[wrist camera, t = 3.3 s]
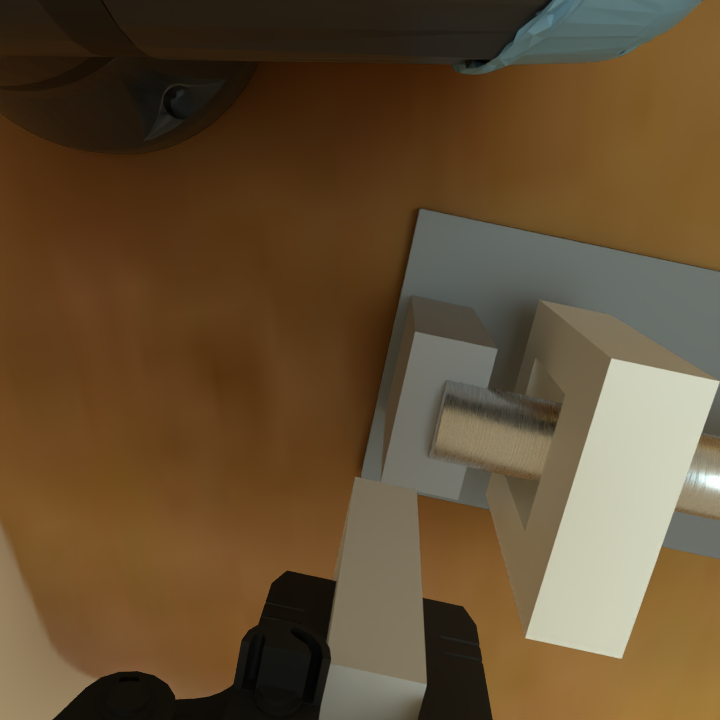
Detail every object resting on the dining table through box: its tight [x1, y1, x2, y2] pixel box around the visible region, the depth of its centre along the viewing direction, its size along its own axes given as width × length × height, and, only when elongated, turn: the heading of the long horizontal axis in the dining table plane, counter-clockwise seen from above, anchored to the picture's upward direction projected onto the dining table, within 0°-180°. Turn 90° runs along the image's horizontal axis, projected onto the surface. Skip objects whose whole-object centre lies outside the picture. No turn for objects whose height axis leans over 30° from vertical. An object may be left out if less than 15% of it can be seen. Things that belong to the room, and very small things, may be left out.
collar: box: [486, 300, 720, 659], centre depth 24 cm, size 3×9×10 cm, turn 169°
